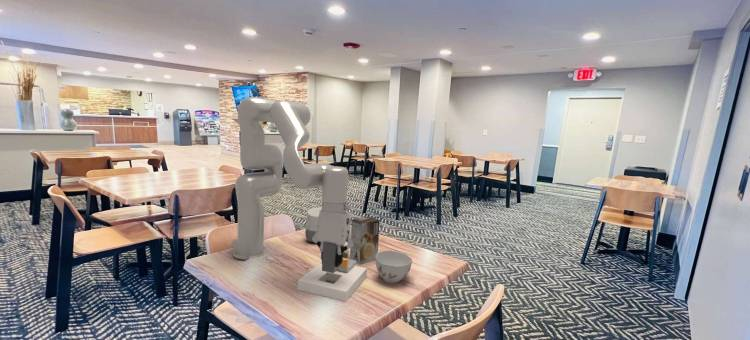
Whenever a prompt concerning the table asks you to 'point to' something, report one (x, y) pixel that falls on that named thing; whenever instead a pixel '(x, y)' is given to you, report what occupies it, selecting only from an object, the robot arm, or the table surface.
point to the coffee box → (364, 239)
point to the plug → (329, 257)
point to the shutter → (347, 265)
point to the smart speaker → (311, 223)
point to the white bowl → (393, 265)
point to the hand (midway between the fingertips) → (331, 263)
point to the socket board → (332, 282)
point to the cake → (346, 254)
